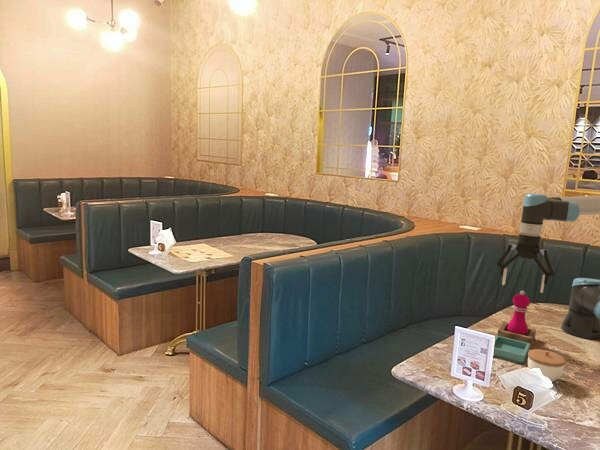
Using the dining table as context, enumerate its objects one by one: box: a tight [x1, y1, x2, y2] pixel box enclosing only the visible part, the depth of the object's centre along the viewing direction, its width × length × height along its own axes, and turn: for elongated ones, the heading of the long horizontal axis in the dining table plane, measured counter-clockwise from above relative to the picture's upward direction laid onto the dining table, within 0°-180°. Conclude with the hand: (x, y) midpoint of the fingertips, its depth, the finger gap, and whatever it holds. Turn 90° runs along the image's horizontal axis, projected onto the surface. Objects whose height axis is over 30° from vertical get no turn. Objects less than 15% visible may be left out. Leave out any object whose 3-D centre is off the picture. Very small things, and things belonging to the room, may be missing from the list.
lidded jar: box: [527, 348, 566, 383], centre depth 152 cm, size 11×11×9 cm
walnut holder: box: [497, 321, 537, 350], centre depth 184 cm, size 12×12×4 cm
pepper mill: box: [507, 290, 531, 335], centre depth 183 cm, size 7×7×20 cm
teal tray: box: [493, 334, 531, 365], centre depth 171 cm, size 12×14×3 cm
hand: (522, 288), depth 181 cm, fingers open, 13 cm apart
